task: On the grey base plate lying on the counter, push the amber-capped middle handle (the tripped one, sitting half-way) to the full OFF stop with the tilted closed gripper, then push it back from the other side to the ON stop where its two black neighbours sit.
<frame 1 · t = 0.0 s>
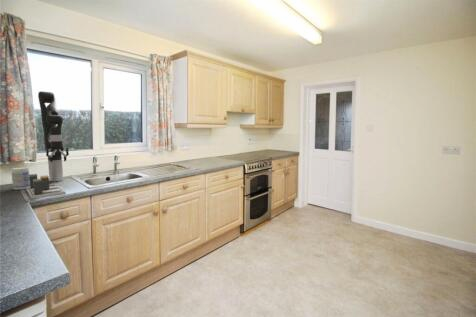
hand: (58, 161, 199), 17 cm above the countertop, tool pointing down, fingers open, 8 cm apart
tripped breaker: (44, 182, 174), point 6 cm above the countertop, slide at 5.0 cm
supplement tub: (21, 188, 183), on the countertop
grey base plate: (45, 191, 175), on the countertop
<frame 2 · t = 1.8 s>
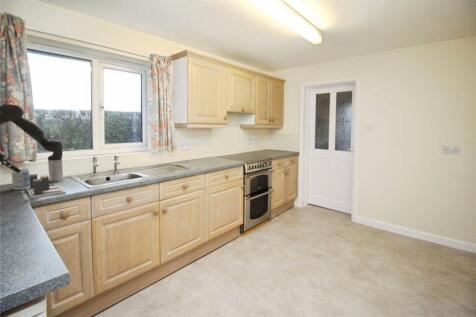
hand: (18, 171, 164), 16 cm above the countertop, tool tilted 45°, fingers open, 8 cm apart
nothing on the countertop moved.
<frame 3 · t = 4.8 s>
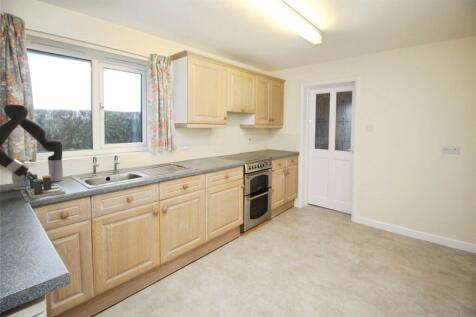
hand: (42, 183, 174), 6 cm above the countertop, tool tilted 45°, fingers closed
tripped breaker: (46, 182, 175), point 6 cm above the countertop, slide at 6.1 cm, touching gripper
everything else where it was.
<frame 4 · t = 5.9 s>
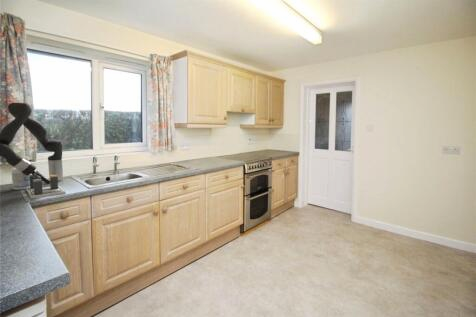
hand: (49, 183, 176), 6 cm above the countertop, tool tilted 45°, fingers closed
tripped breaker: (53, 181, 178), point 6 cm above the countertop, slide at 10.0 cm, touching gripper
everything else where it was.
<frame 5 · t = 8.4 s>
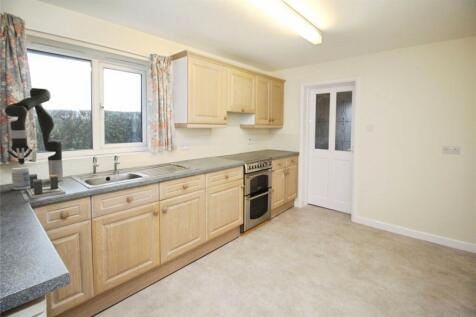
hand: (21, 164, 165), 20 cm above the countertop, tool pointing down, fingers closed
tripped breaker: (53, 181, 178), point 6 cm above the countertop, slide at 10.0 cm
everything else where it was.
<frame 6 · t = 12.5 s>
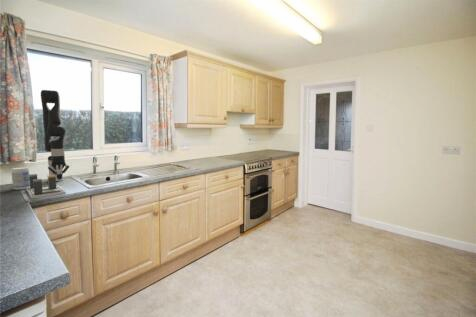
hand: (59, 179, 180), 8 cm above the countertop, tool pointing down, fingers closed
tripped breaker: (51, 181, 177), point 6 cm above the countertop, slide at 8.9 cm, touching gripper
everything else where it was.
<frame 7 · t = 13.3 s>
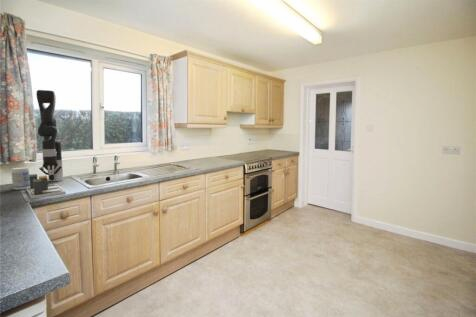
hand: (51, 180, 177), 8 cm above the countertop, tool pointing down, fingers closed
tripped breaker: (43, 182, 174), point 6 cm above the countertop, slide at 4.2 cm, touching gripper
everything else where it was.
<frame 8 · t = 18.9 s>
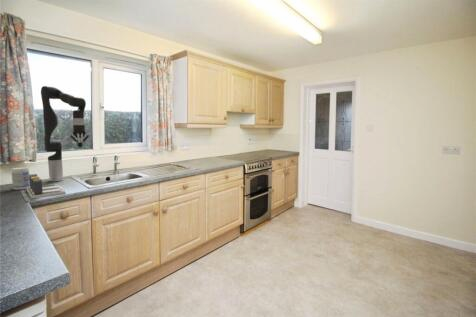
hand: (80, 147, 194), 29 cm above the countertop, tool pointing down, fingers closed
tripped breaker: (35, 183, 171), point 6 cm above the countertop, slide at 0.0 cm
everything else where it was.
at the end: tripped breaker slide at 0.0 cm; tripped breaker touching nothing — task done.
